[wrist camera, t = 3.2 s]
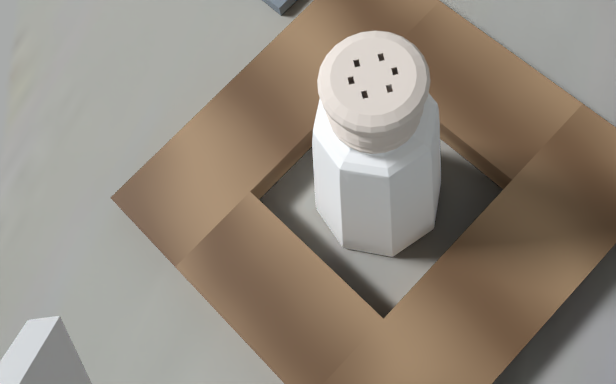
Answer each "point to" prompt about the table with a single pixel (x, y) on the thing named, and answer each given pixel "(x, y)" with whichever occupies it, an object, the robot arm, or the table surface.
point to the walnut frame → (449, 267)
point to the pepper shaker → (376, 144)
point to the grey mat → (280, 5)
